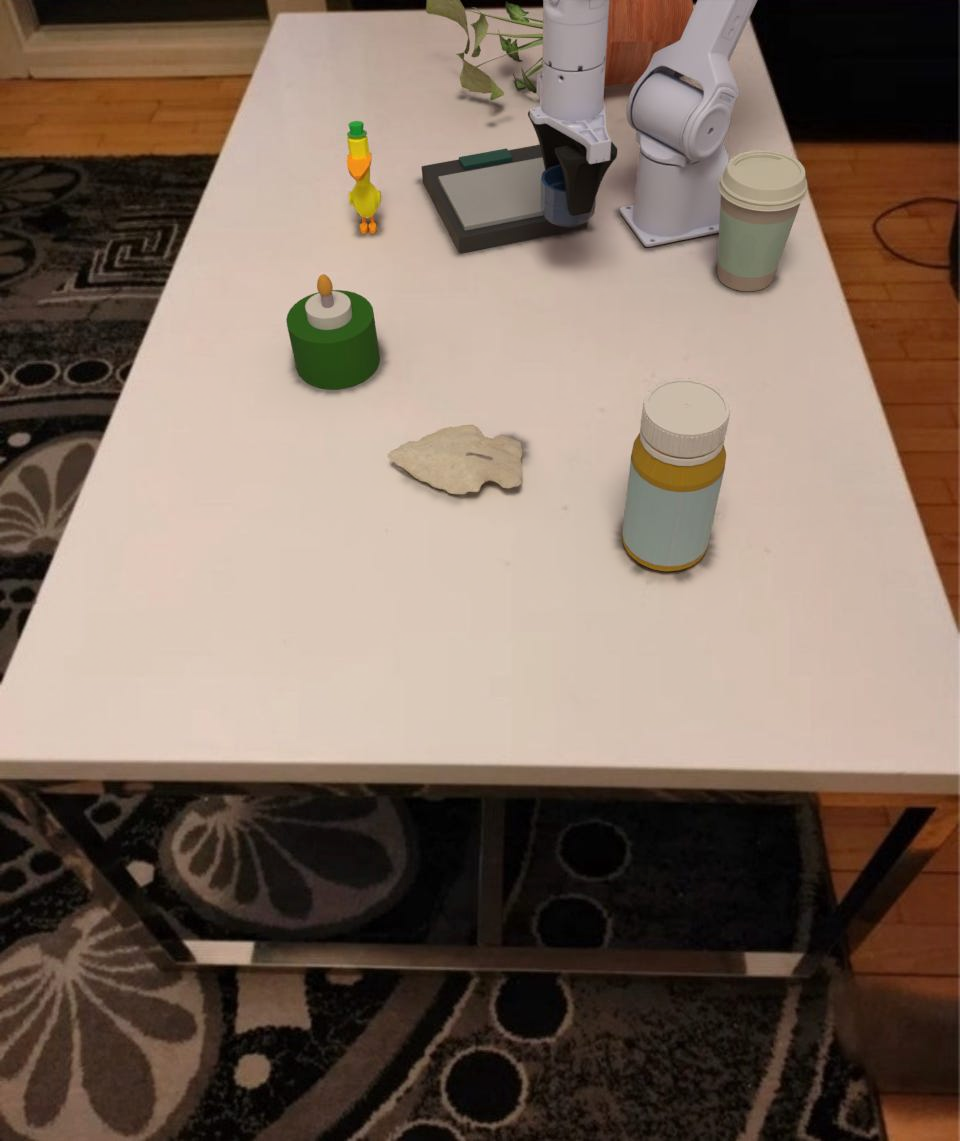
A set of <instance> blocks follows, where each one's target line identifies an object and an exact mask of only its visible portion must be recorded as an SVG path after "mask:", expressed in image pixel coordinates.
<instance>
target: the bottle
mask: <svg viewBox="0 0 960 1141" xmlns="http://www.w3.org/2000/svg"><path fill="white" fill-rule="evenodd" d="M730 416H731V406H730V402H729V400H728V398H727V397H726V395H725V394H724V393H723V392H722V391H721V390H720V389H718V388H717V387H716V386H714V385H713V384H711V383H708V382H706V381H703V380H700V379H694V378H689V377H688V378H687V377H685V378H684V377H683V378H682V377H681V378H671V379H667V380H663V381H662V382H659V383H657V384H655V385H654V386H652V387H651V389H649V390H648V392H647V393H646V395H645V397H644V399H643V402H642V410H641V418H640V428H639V433H638V434H637V436H636V438H635V439H634V441H633V444H632V448H631V454H630V461H629V471H628V480H627V486H626V495H625V497H626V498H625V504H624V514H623V522H622V532H621V533H622V535H621V536H622V537H621V538H622V543H623V547H624V549H625V550H626V552H627V553H628V555H629V556H630V557H631V558H632V559H633V560H635V561H636V562H637V563H638V564H640V565H642V566H644V567H646V568H649V569H651V570H654V571H659V572H676V571H682V570H684V569H685V570H686V569H687V568H690V567H692V566H694V565H695V564H697V563H698V562H699V561H701V560H702V558H703V557H704V555H705V554H706V552H707V550H708V546H709V544H710V543H709V542H710V538H711V533H712V530H713V529H712V528H713V525H714V520H715V515H716V510H717V505H718V501H719V497H720V493H721V489H722V488H721V487H722V482H723V478H724V474H725V469H726V463H727V462H726V460H727V451H726V448H725V440H726V435H727V431H728V427H729V421H730Z"/></svg>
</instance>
